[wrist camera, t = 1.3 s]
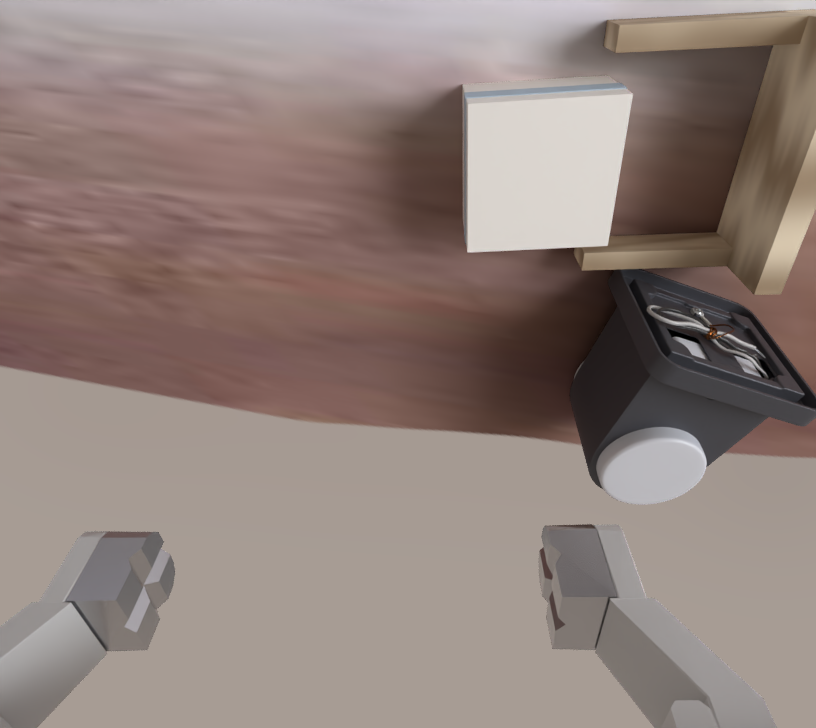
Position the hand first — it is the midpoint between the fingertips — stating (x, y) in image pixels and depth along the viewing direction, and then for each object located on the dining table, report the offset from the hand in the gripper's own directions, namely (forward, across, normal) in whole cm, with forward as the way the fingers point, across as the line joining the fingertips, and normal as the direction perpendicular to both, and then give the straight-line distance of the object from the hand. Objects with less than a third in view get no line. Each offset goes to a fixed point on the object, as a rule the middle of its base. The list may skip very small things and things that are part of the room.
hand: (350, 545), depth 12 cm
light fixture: (+28, -17, +15) cm, 36 cm away
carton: (+28, -8, 0) cm, 29 cm away
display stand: (+27, -16, 0) cm, 32 cm away
